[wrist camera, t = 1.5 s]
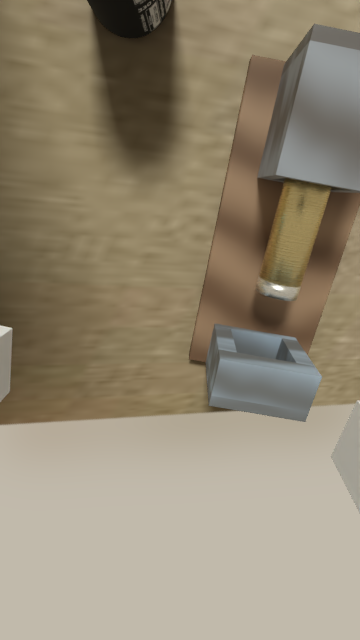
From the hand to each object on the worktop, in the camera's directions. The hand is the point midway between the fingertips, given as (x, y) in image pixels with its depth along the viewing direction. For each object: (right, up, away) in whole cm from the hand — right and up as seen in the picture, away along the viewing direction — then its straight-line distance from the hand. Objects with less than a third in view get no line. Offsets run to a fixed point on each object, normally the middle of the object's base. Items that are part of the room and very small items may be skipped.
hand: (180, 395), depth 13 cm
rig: (+9, +11, +20) cm, 24 cm away
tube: (+10, +13, +16) cm, 23 cm away
